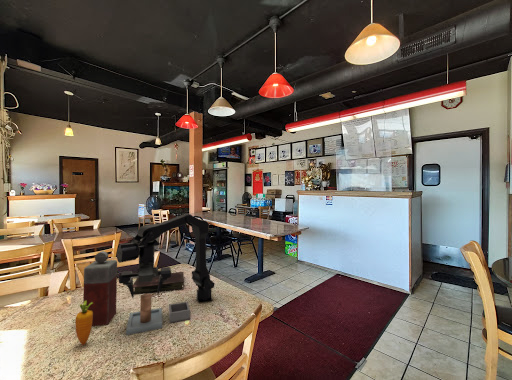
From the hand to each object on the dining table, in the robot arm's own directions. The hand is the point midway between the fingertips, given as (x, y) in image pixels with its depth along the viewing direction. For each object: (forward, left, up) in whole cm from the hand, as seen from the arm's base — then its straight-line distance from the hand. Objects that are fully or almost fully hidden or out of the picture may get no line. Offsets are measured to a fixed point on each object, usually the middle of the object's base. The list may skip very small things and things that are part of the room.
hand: (145, 295), depth 94 cm
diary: (-6, -37, -12) cm, 39 cm away
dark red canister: (+17, -10, -11) cm, 23 cm away
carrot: (+19, +7, -11) cm, 23 cm away
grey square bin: (-13, 0, -11) cm, 17 cm away
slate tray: (0, 0, -11) cm, 11 cm away
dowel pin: (0, 0, -10) cm, 10 cm away
